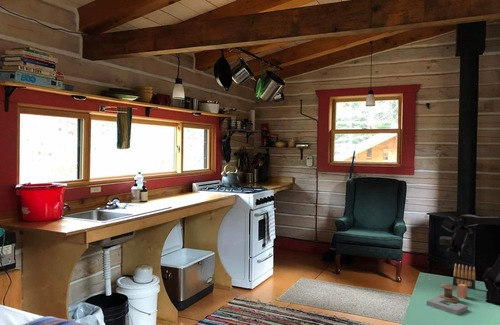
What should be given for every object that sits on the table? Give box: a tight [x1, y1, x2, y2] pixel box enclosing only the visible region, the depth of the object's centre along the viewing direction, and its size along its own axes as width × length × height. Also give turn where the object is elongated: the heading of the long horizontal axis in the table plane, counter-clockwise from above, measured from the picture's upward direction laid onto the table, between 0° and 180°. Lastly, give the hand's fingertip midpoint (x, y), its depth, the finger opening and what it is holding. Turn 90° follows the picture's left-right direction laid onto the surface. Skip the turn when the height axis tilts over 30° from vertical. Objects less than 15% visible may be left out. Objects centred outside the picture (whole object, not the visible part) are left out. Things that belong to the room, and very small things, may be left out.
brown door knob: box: [437, 283, 459, 304], centre depth 199 cm, size 9×9×6 cm
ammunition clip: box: [452, 262, 476, 290], centre depth 220 cm, size 11×2×12 cm, turn 52°
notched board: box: [426, 296, 469, 316], centre depth 189 cm, size 14×10×2 cm
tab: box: [456, 284, 468, 299], centre depth 204 cm, size 3×4×6 cm
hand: (449, 262), depth 218 cm, fingers open, 9 cm apart
